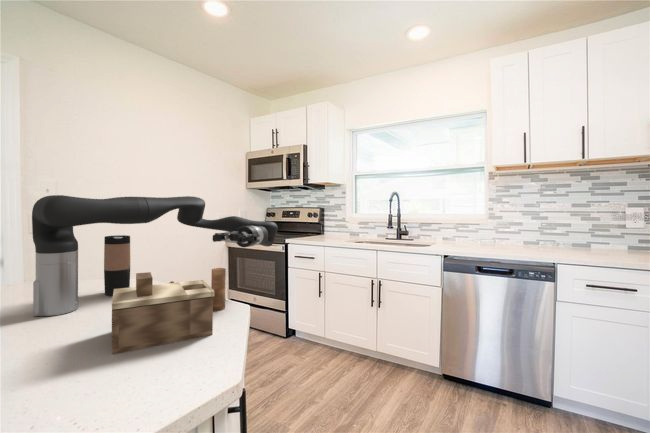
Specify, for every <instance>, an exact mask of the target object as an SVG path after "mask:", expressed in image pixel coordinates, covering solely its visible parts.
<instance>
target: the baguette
mask: <svg viewBox="0 0 650 433" xmlns="http://www.w3.org/2000/svg"><path fill="white" fill-rule="evenodd" d="M226 270H227V269H226V268H224V267H216V268H215V267H214V268H212V269H211V283H210V284H211V285H210V287H211V288H212V289H213V290H214V296H212V297H213V311H214V312H217V311H218V312H219V311H223V310H225V309H226V275H227V273H226V272H227V271H226Z"/></svg>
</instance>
